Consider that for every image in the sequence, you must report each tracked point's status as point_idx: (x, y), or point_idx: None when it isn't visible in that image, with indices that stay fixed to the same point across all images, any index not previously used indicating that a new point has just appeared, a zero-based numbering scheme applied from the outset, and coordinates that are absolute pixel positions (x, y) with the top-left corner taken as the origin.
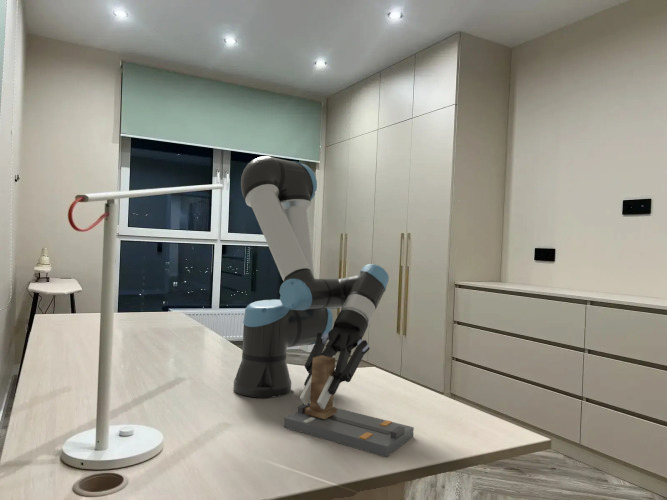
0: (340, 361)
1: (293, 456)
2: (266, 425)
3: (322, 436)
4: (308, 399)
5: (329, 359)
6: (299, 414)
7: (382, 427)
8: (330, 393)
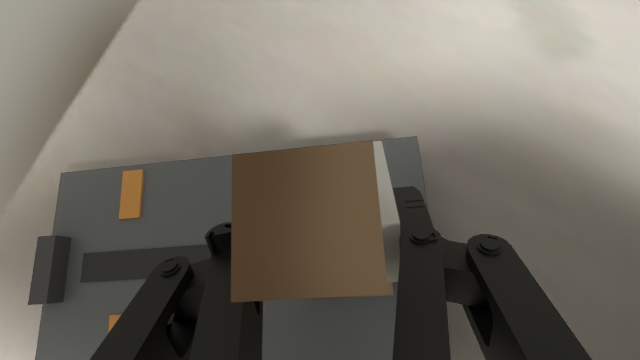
0: (211, 340)
1: (266, 37)
2: (469, 126)
3: None
4: None
5: (237, 207)
6: None
7: (117, 298)
8: None
